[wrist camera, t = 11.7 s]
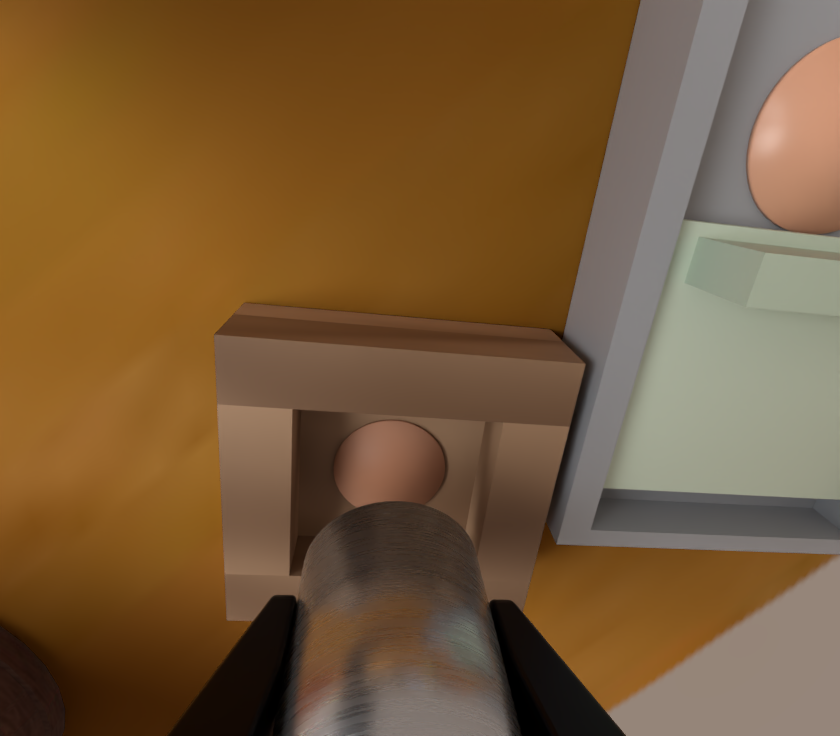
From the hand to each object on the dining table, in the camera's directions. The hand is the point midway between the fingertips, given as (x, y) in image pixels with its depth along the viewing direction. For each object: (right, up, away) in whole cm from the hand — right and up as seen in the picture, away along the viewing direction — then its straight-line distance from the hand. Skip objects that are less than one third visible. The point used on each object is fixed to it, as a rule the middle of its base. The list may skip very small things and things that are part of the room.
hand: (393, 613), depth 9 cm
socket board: (0, +2, +5) cm, 6 cm away
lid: (+9, +4, +4) cm, 11 cm away
